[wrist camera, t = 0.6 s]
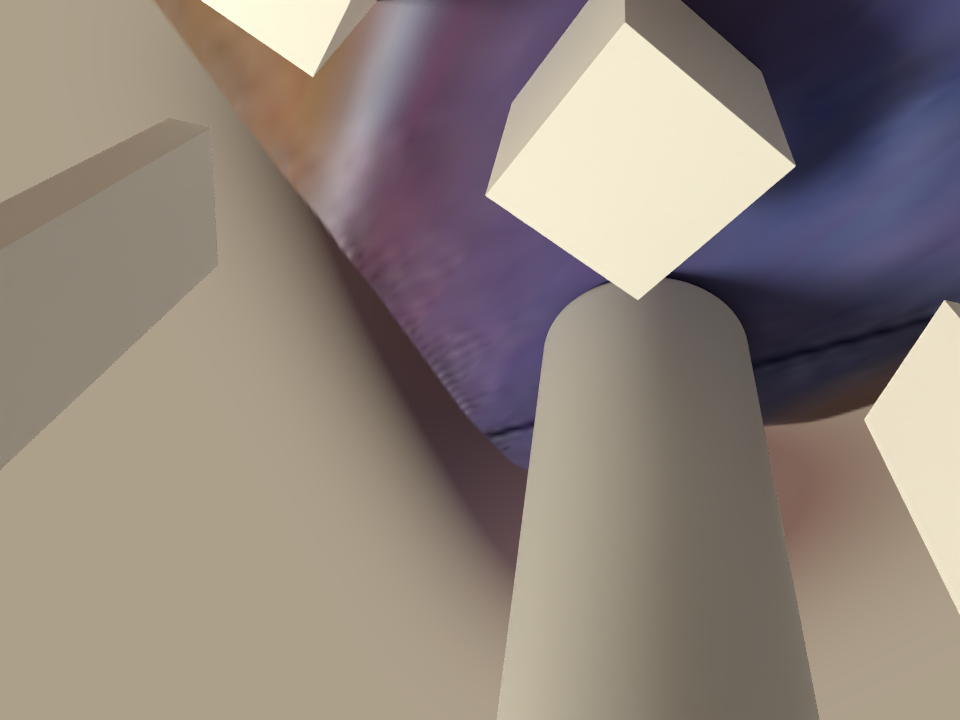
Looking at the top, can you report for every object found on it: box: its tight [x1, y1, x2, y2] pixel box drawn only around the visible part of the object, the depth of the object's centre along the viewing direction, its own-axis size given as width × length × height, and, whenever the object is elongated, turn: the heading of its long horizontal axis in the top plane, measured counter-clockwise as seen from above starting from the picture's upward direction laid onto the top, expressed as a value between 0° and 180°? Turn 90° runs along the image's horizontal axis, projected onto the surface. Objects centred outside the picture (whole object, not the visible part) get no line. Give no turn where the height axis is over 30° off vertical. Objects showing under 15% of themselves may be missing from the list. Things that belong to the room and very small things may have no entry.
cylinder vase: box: [497, 278, 819, 720], centre depth 35 cm, size 12×12×25 cm
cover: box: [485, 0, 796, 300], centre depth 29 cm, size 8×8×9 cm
